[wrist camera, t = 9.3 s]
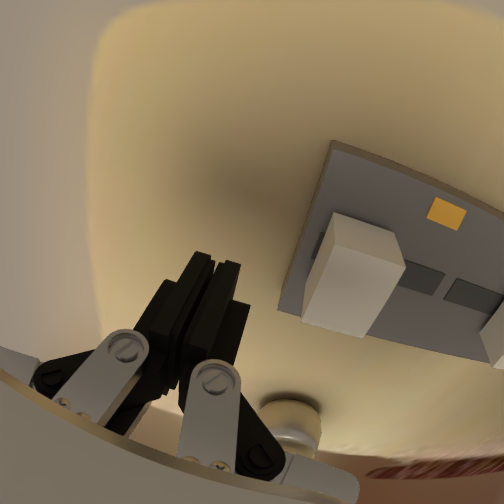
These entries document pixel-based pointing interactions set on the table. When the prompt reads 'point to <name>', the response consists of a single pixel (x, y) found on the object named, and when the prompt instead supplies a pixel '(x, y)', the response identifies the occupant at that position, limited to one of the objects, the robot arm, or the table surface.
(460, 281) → the switch deck
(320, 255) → the slider
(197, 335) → the robot arm
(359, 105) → the table surface
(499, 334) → the slider
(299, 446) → the plastic bottle
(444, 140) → the table surface
